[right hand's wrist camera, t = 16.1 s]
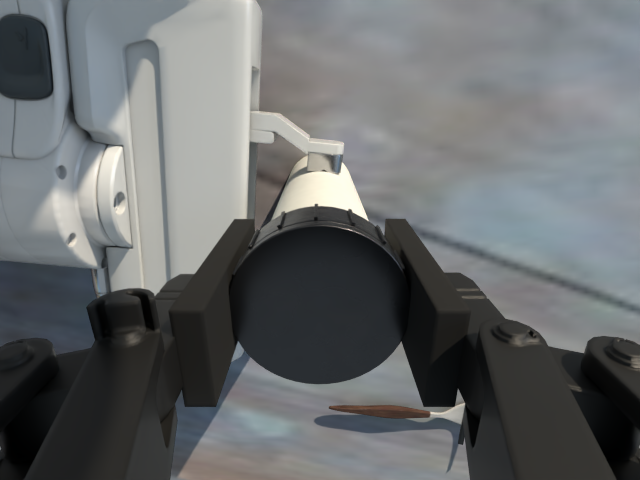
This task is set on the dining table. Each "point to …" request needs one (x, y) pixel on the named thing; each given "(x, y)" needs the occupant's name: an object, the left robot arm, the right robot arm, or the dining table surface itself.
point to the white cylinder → (319, 190)
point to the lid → (319, 296)
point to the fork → (403, 412)
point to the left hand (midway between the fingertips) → (335, 209)
